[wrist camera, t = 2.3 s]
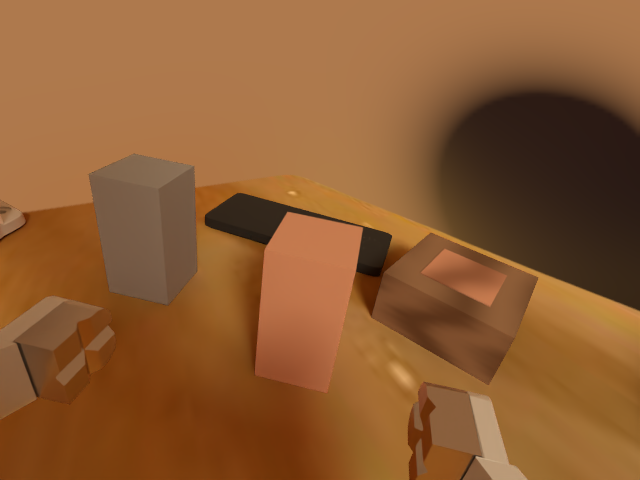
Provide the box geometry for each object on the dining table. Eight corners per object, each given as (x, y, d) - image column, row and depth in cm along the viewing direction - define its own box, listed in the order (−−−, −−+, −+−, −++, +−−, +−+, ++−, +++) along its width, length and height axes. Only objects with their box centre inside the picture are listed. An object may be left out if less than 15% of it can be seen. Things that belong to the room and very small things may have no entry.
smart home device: (381, 268, 36) (201, 215, 40) (377, 282, 37) (202, 229, 41) (393, 232, 43) (239, 190, 47) (389, 245, 44) (238, 202, 48)
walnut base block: (370, 319, 32) (384, 271, 29) (417, 273, 39) (431, 231, 37) (487, 387, 27) (515, 337, 25) (515, 320, 34) (538, 276, 32)
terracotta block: (254, 375, 25) (264, 249, 20) (275, 325, 29) (287, 211, 24) (327, 393, 24) (356, 269, 19) (337, 339, 29) (363, 227, 24)
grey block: (109, 291, 30) (88, 174, 25) (145, 259, 34) (133, 153, 29) (168, 305, 29) (158, 188, 24) (197, 270, 34) (194, 166, 29)
